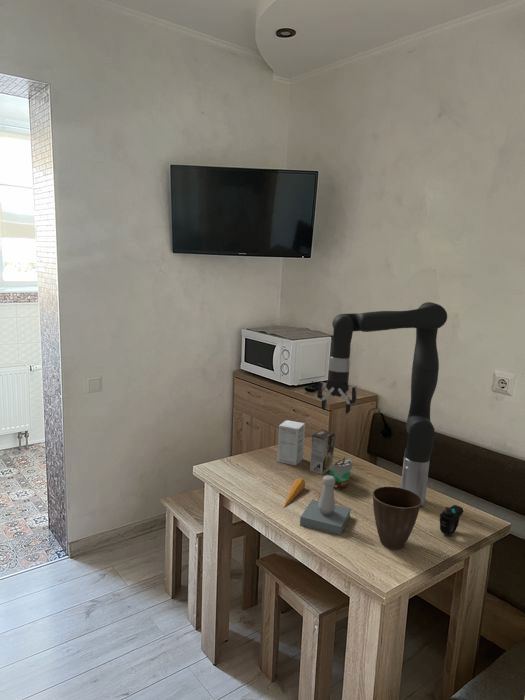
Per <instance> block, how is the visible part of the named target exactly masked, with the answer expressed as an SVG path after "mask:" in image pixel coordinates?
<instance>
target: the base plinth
mask: <svg viewBox="0 0 525 700" xmlns="http://www.w3.org/2000/svg"><path fill="white" fill-rule="evenodd" d="M319 501H320V500H315V499H311V501H310V502H309V503H308V505H307V506H306V508H305V510H304V511H303V512H302V514H301V515H300V517H299V518H300V520H299V526H301V527H306V528H310V529H314V530H318V531H321V532H322V531H323V532H326V533H330V534H334V535H338V536H341V535H342V533H343V531H344V529H345V527H346V525H347V523H348V521H349V520H350V519H349V518H350V516H351V508H350V507H346V506H341V505H337V504H335V510H334V511H333V513H332V514H331V515H323V514H322V513H321V512H320V510H319V507H318V504H319Z"/></svg>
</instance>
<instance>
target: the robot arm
mask: <svg viewBox="0 0 525 700" xmlns="http://www.w3.org/2000/svg"><path fill="white" fill-rule="evenodd" d="M447 319H448V313H447V311H446V309H445V307H443V306H442V305H441V304H438V303H436V302H435V303H434V302H430V301H427V302H423V303H422V304H421V305H420V306H419V307H418V308H415V309H410V310H379V311H367V312H362V313H357V312H356V313H353V312H352V313H340V314H337V315H336V316H334V318H333V320H332V324H331V325H332V328H333V333H332V342H331V346H330V347H331V348H330V356H329V363H328V372H327V374H328V375H327V382H324V381H319V383H318V387H317V394H316V397H317V399H320V400H321V409H322V411H325V410H326V409H327V403H328V402H327V401H328V400H327V399H328V397H329V396H330V395H331V396H333V397H339V398H340V397H342V398H343V400H344V401H345V402H346V404H345V412H344V413H345V415H347V414H349V413H350V411H351V408H352V407H351V406H352V405H353V404H355V403H356V402H357V389H358V387H357V386H356V385H354V386H350V385H349V378H350V367H351V362H350V361H351V358H350V357H351V345H352V344H351V343H352V339H353V332H363V333H365V332H366V333H369V332H370V333H371V332H380V331H390V330H399V329H416V330H415V332H416V333H415V335H416V336H415V344H414V350H413V357H412V358H413V359H412V368H411V377H410V378H411V381H410V404H409V409H408V415H407V420H406V426H405V427H406V432H407V442H406V448H405V449H404V453H403V454H404V456H403V461H402V462H403V465H402V472H401V473H402V474H401V483H400V488H403V489H406V490H409V491H411V492H413V493H415V494H417V495H418V496H419V497H420V499H421V505H420V507H425V503H426V495H427V488H428V478H429V468H430V462H431V461H430V460H431V455H432V454H433V449H434V448H433V447H434V442H435V435H436V434H435V427H434V425H433V423H432V421H431V406H432V405H431V403H432V400H433V396H434V393H436V392H435V391H436V388H437V385H438V379H439V369H440V366H439V365H440V363H439V354H438V353H439V352H438V347H437V337H438V331H439V330H438V329H440V328H442V327H443V326H444V325H445V324H446V322H447ZM325 387H326V389H327V392H326V393H325V394H324V395H323V390H324V388H325ZM348 391H350V393H351V398H350V397H349V394H348Z"/></svg>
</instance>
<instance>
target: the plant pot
mask: <svg viewBox="0 0 525 700" xmlns="http://www.w3.org/2000/svg"><path fill="white" fill-rule="evenodd" d="M372 505H373V514H374V520H375V527H376V529H377V535H378V538H379V541H380V543H381V545H382V546H383V545H384V547H385V548H387V547H388V548H387V549H390V548H391V550H401V549H403V548H404V547H405V545H406V544H407V542H408V540H409V538H410V535H411V533H412V531H413V529H414V527H415V524H416V522H417V519H418V516H419V512H420V509H421V506H420V505H421V499H420V497H419V496H418V495H417V494H415V493H413V492H411V491H409V490H406V489H403V488H401V487H397V486H380V487H378V488H375V489H374V490H373V491H372Z"/></svg>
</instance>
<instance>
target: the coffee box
mask: <svg viewBox="0 0 525 700" xmlns="http://www.w3.org/2000/svg"><path fill="white" fill-rule="evenodd" d="M335 435H336V433H335V432H331V431H329V430H325V429H321V430H319V431H317V432H315V433H313V434H312V436H311V448H310V449H311V451H310V463H309V464H310V465H309V471H311V472H314V473H316V474H320V475H324V474H326V473H327V472H328V471H330V470H329V469H330V464H331V465H334V463H333V460H334V451H335V450H334V449H335V437H336V436H335Z"/></svg>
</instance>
